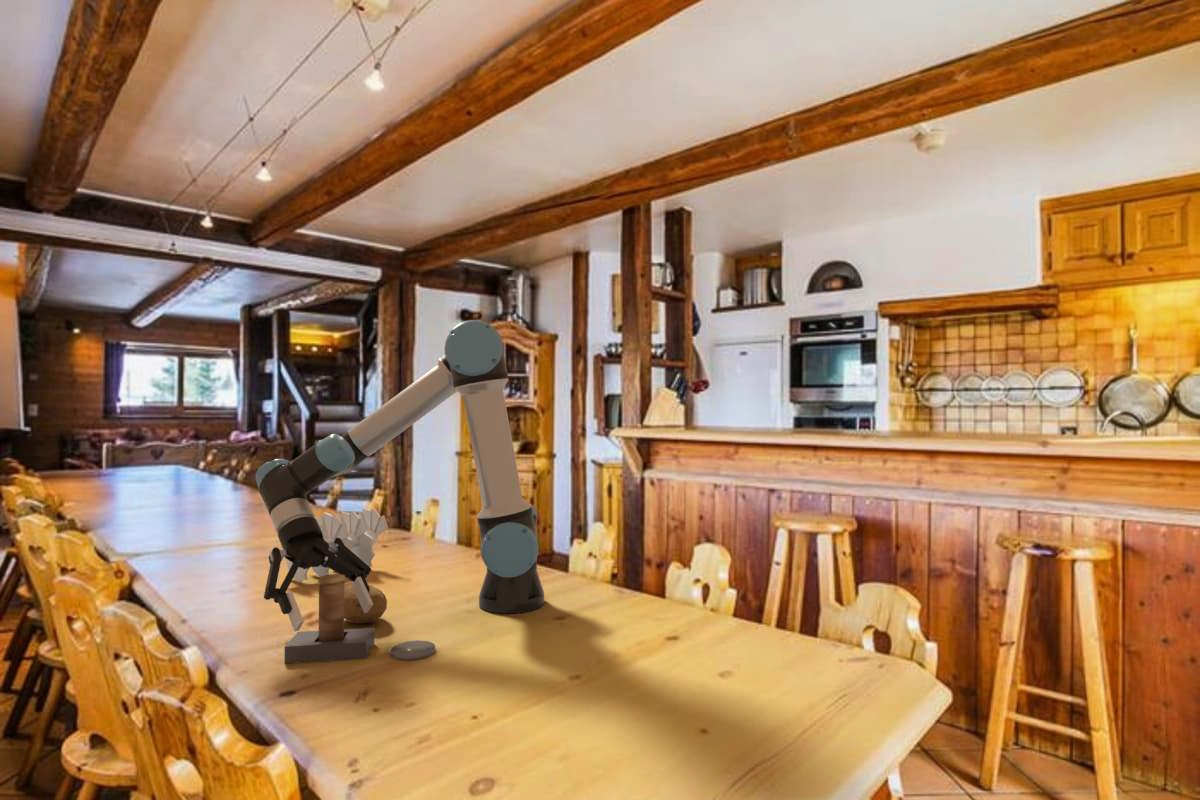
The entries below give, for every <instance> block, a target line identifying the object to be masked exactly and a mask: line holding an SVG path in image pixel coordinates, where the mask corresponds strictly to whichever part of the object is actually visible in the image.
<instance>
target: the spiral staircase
mask: <svg viewBox="0 0 1200 800" xmlns="http://www.w3.org/2000/svg"><path fill="white" fill-rule="evenodd" d="M315 519H316V520H317V522H318V524H319V526H320V529H321V531H322V534H323V539H324V540H325V541H326V542H327V543H329V542H333V541H335V539H336V538H340V539H341V540H342V542H343V543H344V545H345V546H346V547H347V548H348V549H349V550H350V551H352V552H353V553H354V554H355V555H356V556H357V557H359V558H360V559H361V560H362V561H363V562H364V563H366V564H367V565H368V566H369V567H370V568H372V567H373V564H372V560H373V559H374V557H375V555H376V553H375V552H374V549H373V546H374V545H373V544H375V543H377V541H378V539H379V538H378V537H379V536H380V535H381V534H382V533H384V532H386V531H387V530H389V526H388V523H387V519H386V516H385V514H383V515H380V514H379V512H378V511H377V509H376V508H375V507H372V509H371V510H370V509H368V508H364V507H363V508H362V511H360V512H359V513H356V511H355V510H354V509H351V510H350V512H346V511H342V512H341V515H339V516H338V515H337V512H334V513H333V515H332V514H331V513H328V512H326V511H323V515H320V516H318V517H316V518H315ZM328 550H329V549H328ZM330 551H331V550H330ZM335 556H336V555H335ZM284 559H285V561H286V565H287V566H286V567H287V569H288V571H289V570H290V568H291V566H292V564H293V563H292V562H290V561H289V560H287V559H286V558H285V557H284ZM324 560H326V561H327V560H328V557H327V556H326V557H325V559H324ZM311 569H312V572H313V573H315V574H316V575H317V576H318V578H319V577H321V576H324V575H330V572H329V570H330V568H328V567H327V568H325V567H323V566H321V565H319V566H318V567H311ZM309 570H310V568H307V569H303V568H300V567H299V568H298V569H297V571H296V573H295V575H294V577H293V579H294V580H295V581H296V582H297V583H299V584H302V583H303V581H307V580H308V571H309ZM301 582H302V583H301Z"/></svg>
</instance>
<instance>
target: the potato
mask: <svg viewBox="0 0 1200 800" xmlns="http://www.w3.org/2000/svg"><path fill="white" fill-rule="evenodd" d="M353 583H354V582H353V581H351V580H350V581H348V582H344V620H347V621H348V622H350V623H352V624H353V625H354V624H365V623H367V624H372V623H373V622H375V621H376V620H378V619H380V618H382V616H383V614H384V613H385V611H386V610H387V606H388V599H387V597H386V594H384V592H383V591H381V589H380V588H377V587H376V586H373V585H371V584H368V586H369V588H370V591H369V593H368V594H369V596H370V598H371V600H372V602H373V606H372V607H371V609H370V610H369V611H368V612H367V613H364V611H363V609H362V607H361V605H360V602H359V600H358V598H357V596H356V594H355V591H354V589H353V587H352V584H353Z"/></svg>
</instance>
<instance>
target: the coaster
mask: <svg viewBox="0 0 1200 800" xmlns="http://www.w3.org/2000/svg"><path fill="white" fill-rule="evenodd" d="M435 652H436V645H435V643H434V642H432V641H429V640H421V639H420V640H419V639H418V640H407V641H404V642H400V643H397V644H395V645H394V646H392V647H391V649H390V657H391V658H393V659H395V660H399V661H414V660H415V661H416V660H422V659H425V658H428V657H430V656H432V655H433V654H434V653H435Z"/></svg>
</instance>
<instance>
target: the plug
mask: <svg viewBox="0 0 1200 800" xmlns="http://www.w3.org/2000/svg"><path fill="white" fill-rule="evenodd" d="M317 580H318V583H317V584H318V631H319V642H329V641H343V639H344V629H345V618H344V584H345V581H346V577H345V575H342V574H339V573H332V574H330V573H329V575H324V576H321V577H319V576H318V579H317Z"/></svg>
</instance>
